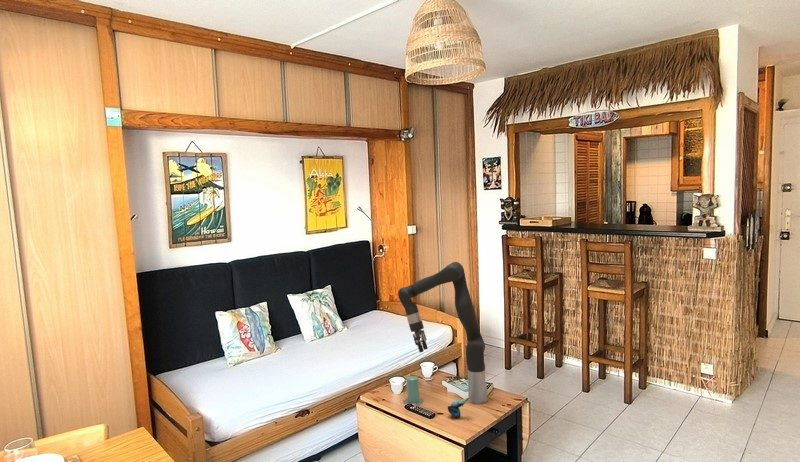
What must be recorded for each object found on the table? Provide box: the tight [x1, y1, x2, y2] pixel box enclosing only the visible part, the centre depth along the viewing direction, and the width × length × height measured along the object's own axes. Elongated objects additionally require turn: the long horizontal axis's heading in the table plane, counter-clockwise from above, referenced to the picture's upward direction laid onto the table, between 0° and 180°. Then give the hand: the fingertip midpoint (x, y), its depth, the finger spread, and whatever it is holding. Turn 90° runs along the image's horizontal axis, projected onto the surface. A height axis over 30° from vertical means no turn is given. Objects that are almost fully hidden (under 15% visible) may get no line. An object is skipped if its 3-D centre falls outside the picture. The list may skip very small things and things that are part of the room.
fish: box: [447, 398, 468, 419], centre depth 241 cm, size 4×10×10 cm, turn 78°
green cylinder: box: [406, 375, 420, 404], centre depth 260 cm, size 6×6×13 cm
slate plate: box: [402, 397, 424, 407], centre depth 261 cm, size 11×11×1 cm
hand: (423, 350), depth 266 cm, fingers open, 8 cm apart
